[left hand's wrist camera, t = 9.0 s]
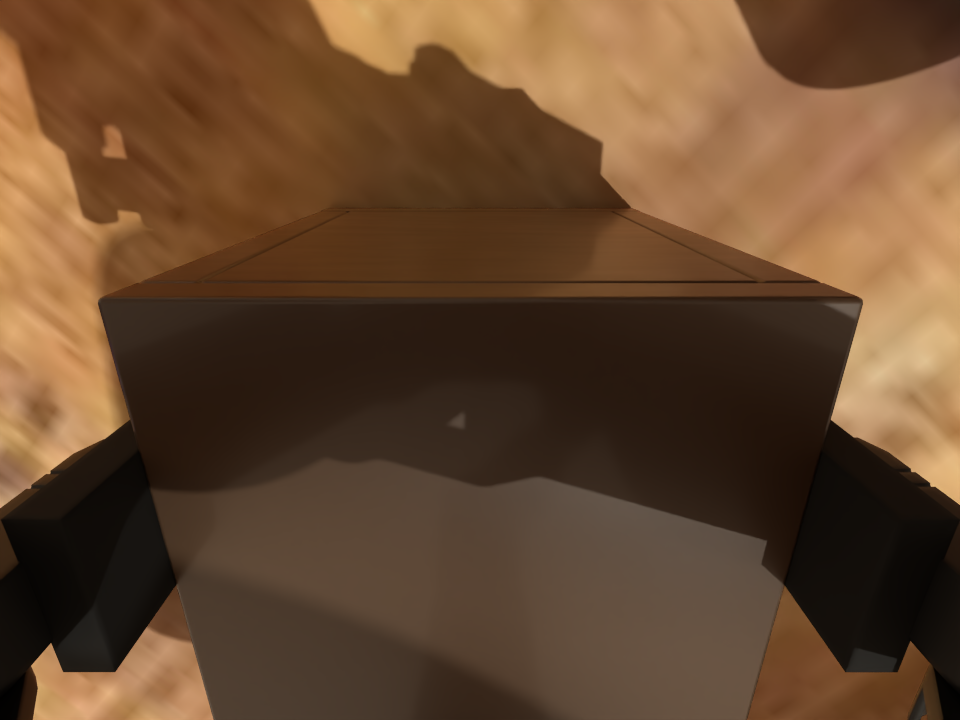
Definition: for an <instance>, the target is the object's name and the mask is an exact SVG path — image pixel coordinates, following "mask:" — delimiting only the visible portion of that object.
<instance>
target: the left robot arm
mask: <svg viewBox="0 0 960 720" xmlns="http://www.w3.org/2000/svg"><path fill="white" fill-rule="evenodd" d="M31 486H32V487H31V489H26V490H24V491H23V492H22V493H20V494H19V495H18V496H16V497H15V498H14V499H12V500H11V501H10V502H8V503H7V504H6V505H4V506H3V507H2V508H0V720H33V714H34V708H35V702H36V696H37V689H38V687H37V682H36V676H35V674H34V672H33V670H32V667H31V665H32V664H33V663H34V662H35V660H36V659H37V658H38V657H39V656H40V655H41V654H42V652H43V651H44V650H45V649H46V648H47V647H48V646H49V644H50V643H52V646H53V648H54V651H55V653H56V655H57V658H58V660H59V663H60V665H61V668H62V670H63V672H115V671H116V670H117V669H118V667H119V666H120V664H121V663H122V661H123V660H124V659H125V657H126V656H127V654H128V653H129V651H130V650H131V649H132V647H133V646H134V644H135V643H136V641H137V640H138V639H139V637H140V636H141V634H142V633H143V631H144V630H145V629H146V627H147V626H148V624H149V623H150V621H151V620H152V619H153V617H154V616H155V614H156V613H157V611H158V610H159V609H160V607H161V606H162V604H163V603H164V601H165V600H166V599H167V597H168V596H169V594H170V593H171V591H172V590H173V589H174V587H175V586H176V582H175V579H174V575H173V571H172V568H171V564H170V561H169V557H168V553H167V550H166V546H165V543H164V539H163V535H162V532H161V528H160V525H159V521H158V517H157V514H156V510H155V507H154V503H153V499H152V496H151V492H150V489H149V485H148V481H147V478H146V474H145V471H144V467H143V463H142V460H141V456H140V453H139V449H138V445H137V442H136V438H135V435H134V431H133V427H132V424H131V420H129V421H128V422H127V423H125V424H124V425H123V426H121V427H120V428H119V429H118V430H116V431H115V432H114V433H112V434H111V435H110V436H108V437H107V438H106V439H103V440H101V441H99V442H97V443H95V444H93V445H91V446H89V447H87V448H85V449H83V450H80V451H78V452H76V453H74V454H73V455H71V456H70V457H69V458H67V459H66V460H65V461H63V462H62V463H61V464H59V465H58V466H57V467H55V468H54V469H52V470H51V473H50V474H46V475H44V476H43V477H42V478H40V479H39V480H38V481H36V482H35V483H34V484H32V485H31ZM785 586H786V588H787V589H788V591H789V592H790V593H791V595H792V596H793V598H794V599H795V601H796V602H797V603H798V605H799V606H800V608H801V609H802V611H803V612H804V613H805V615H806V616H807V618H808V619H809V621H810V622H811V623H812V625H813V626H814V628H815V629H816V631H817V632H818V633H819V635H820V636H821V638H822V639H823V641H824V642H825V643H826V645H827V646H828V648H829V649H830V651H831V652H832V653H833V655H834V656H835V658H836V659H837V661H838V662H839V663H840V665H841V666H842V668H843V669H844V671H845V672H898V670H899V667H900V665H901V662H902V660H903V657H904V655H905V653H906V650H907V648H908V645H909V643H910V641H911V642H912V643H913V644H914V645H915V646H916V647H917V649H918V650H919V651H920V652H921V653H922V654H923V655H924V657H925V658H926V659H927V660H928V661H929V662H930V665H929V667H928V670H927V672H926V674H925V676H924V679H923V681H922V683H921V686H920V688H919V690H918V692H917V695H916V697H915V699H914V701H913V704H912V706H911V708H910V711H909V713H908V718H907V720H920V719H921V717H922V716H924V715H926V714H927V718H928V720H960V505H959V504H958V503H956V502H955V501H954V500H952V499H951V498H949V497H948V496H947V495H945V494H944V493H943V492H941V491H940V490H939V489H937V488H936V487H931V486H930V483H929V482H928V481H926V480H925V479H924V478H922V477H921V476H920V475H918V474H917V473H916V472H911V469H910V468H909V467H908V466H906V465H905V464H903V463H902V462H901V461H899V460H898V459H897V458H895V457H894V456H893V455H891V454H890V453H889V452H887V451H885V450H883V449H881V448H878V447H876V446H874V445H872V444H870V443H868V442H866V441H864V440H862V439H860V438H854V437H852V436H851V435H850V434H848V433H847V432H846V431H844V430H843V429H842V428H841V427H839V426H838V425H837V424H835V423H834V422H833V421H831V420H830V424H829V427H828V431H827V434H826V438H825V441H824V445H823V449H822V452H821V456H820V459H819V463H818V467H817V470H816V474H815V477H814V481H813V485H812V488H811V492H810V495H809V499H808V502H807V506H806V510H805V513H804V517H803V520H802V524H801V528H800V531H799V535H798V538H797V542H796V545H795V549H794V553H793V556H792V560H791V563H790V567H789V571H788V574H787V578H786V581H785Z"/></svg>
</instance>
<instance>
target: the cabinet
mask: <svg viewBox="0 0 960 720" xmlns="http://www.w3.org/2000/svg"><path fill="white" fill-rule="evenodd" d="M98 305H99V309H100V312H101V316H102V320H103V323H104V327H105V330H106V334H107V338H108V341H109V345H110V348H111V352H112V356H113V359H114V363H115V366H116V370H117V374H118V377H119V381H120V384H121V388H122V392H123V395H124V399H125V402H126V406H127V409H128V413H129V417H130V420H131V424H132V427H133V431H134V435H135V438H136V442H137V445H138V449H139V453H140V456H141V460H142V463H143V467H144V471H145V474H146V478H147V481H148V485H149V489H150V492H151V496H152V499H153V503H154V507H155V510H156V514H157V517H158V521H159V525H160V528H161V532H162V535H163V539H164V543H165V546H166V550H167V553H168V557H169V561H170V564H171V568H172V571H173V575H174V579H175V582H176V586H177V589H178V593H179V597H180V600H181V604H182V607H183V611H184V615H185V618H186V622H187V625H188V629H189V633H190V636H191V640H192V643H193V647H194V651H195V654H196V658H197V661H198V665H199V669H200V672H201V676H202V679H203V683H204V686H205V690H206V694H207V697H208V701H209V704H210V708H211V712H212V715H213V719H214V720H747V718H748V714H749V710H750V707H751V703H752V700H753V696H754V692H755V689H756V685H757V682H758V678H759V675H760V671H761V667H762V664H763V660H764V657H765V653H766V649H767V646H768V642H769V639H770V635H771V632H772V628H773V624H774V621H775V617H776V614H777V610H778V606H779V603H780V599H781V596H782V592H783V589H784V585H785V581H786V578H787V574H788V571H789V567H790V563H791V560H792V556H793V553H794V549H795V545H796V542H797V538H798V535H799V531H800V528H801V524H802V520H803V517H804V513H805V510H806V506H807V502H808V499H809V495H810V492H811V488H812V485H813V481H814V477H815V474H816V470H817V467H818V463H819V459H820V456H821V452H822V449H823V445H824V441H825V438H826V434H827V431H828V427H829V424H830V420H831V416H832V413H833V409H834V406H835V402H836V398H837V395H838V391H839V388H840V384H841V381H842V377H843V373H844V370H845V366H846V363H847V359H848V355H849V352H850V348H851V345H852V341H853V337H854V334H855V330H856V327H857V323H858V320H859V316H860V312H861V309H862V305H863V301H862V299H861V298H859V297H857V296H855V295H852V294H850V293H847V292H844V291H842V290H839V289H837V288H834V287H832V286H829V285H827V284H824V283H820V282H819V281H816V280H814V279H811V278H809V277H806V276H804V275H801V274H799V273H796V272H793V271H791V270H788V269H786V268H783V267H781V266H778V265H775V264H773V263H770V262H768V261H765V260H763V259H760V258H757V257H755V256H752V255H750V254H747V253H745V252H742V251H740V250H737V249H734V248H732V247H729V246H727V245H724V244H722V243H719V242H716V241H714V240H711V239H709V238H706V237H704V236H701V235H699V234H696V233H693V232H691V231H688V230H686V229H683V228H681V227H678V226H675V225H673V224H670V223H668V222H665V221H663V220H660V219H658V218H655V217H652V216H650V215H647V214H645V213H642V212H640V211H638V210H635V209H633V208H328V209H325V210H323V211H321V212H319V213H316V214H313V215H311V216H308V217H306V218H303V219H301V220H298V221H296V222H293V223H290V224H288V225H285V226H283V227H280V228H278V229H275V230H272V231H270V232H267V233H265V234H262V235H260V236H257V237H255V238H252V239H249V240H247V241H244V242H242V243H239V244H237V245H234V246H231V247H229V248H226V249H224V250H221V251H219V252H216V253H214V254H211V255H208V256H206V257H203V258H201V259H198V260H196V261H193V262H190V263H188V264H185V265H183V266H180V267H178V268H175V269H173V270H170V271H167V272H165V273H162V274H160V275H157V276H155V277H152V278H149V279H147V280H144V281H142V282H141V283H137V284H134V285H131V286H129V287H126V288H124V289H121V290H119V291H116V292H114V293H111V294H108V295H106V296H103V297H101V298H100V299H99V300H98Z"/></svg>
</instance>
